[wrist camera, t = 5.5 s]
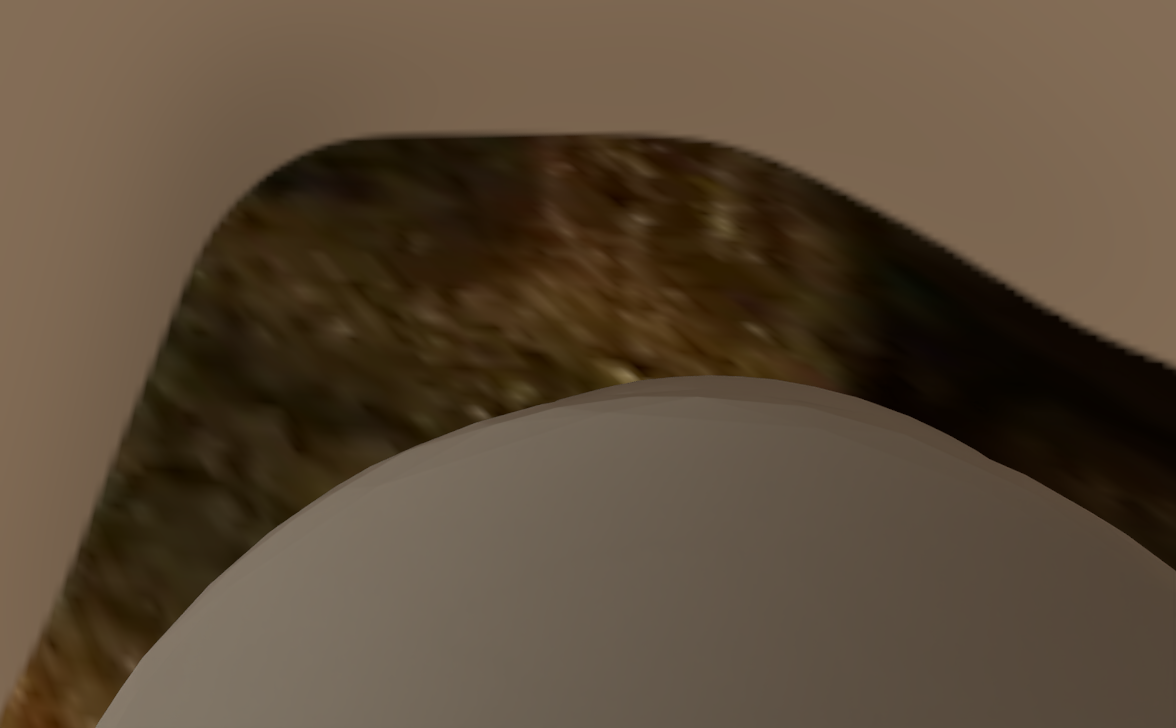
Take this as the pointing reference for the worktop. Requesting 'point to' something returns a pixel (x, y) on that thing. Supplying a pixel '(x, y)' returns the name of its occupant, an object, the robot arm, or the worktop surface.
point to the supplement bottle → (678, 583)
